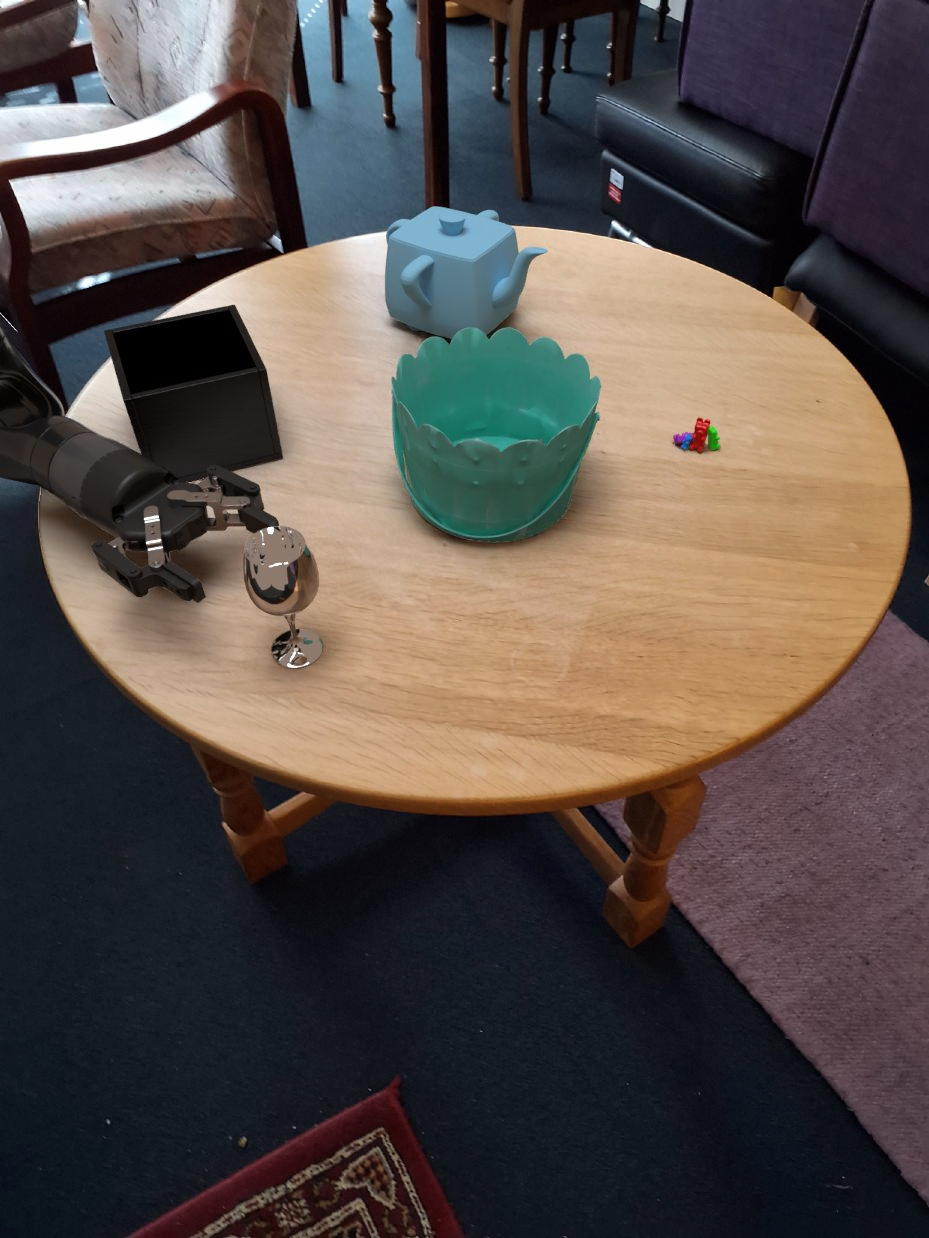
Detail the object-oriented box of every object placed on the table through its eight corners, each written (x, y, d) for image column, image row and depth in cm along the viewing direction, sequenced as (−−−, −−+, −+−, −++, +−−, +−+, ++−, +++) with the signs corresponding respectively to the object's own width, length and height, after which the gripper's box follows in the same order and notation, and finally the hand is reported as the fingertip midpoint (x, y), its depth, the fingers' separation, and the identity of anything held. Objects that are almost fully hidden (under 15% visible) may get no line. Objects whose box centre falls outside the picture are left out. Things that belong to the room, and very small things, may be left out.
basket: (612, 467, 93) (629, 357, 84) (538, 576, 83) (547, 464, 73) (452, 416, 99) (450, 309, 90) (363, 512, 89) (351, 401, 79)
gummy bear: (669, 447, 96) (674, 419, 93) (676, 433, 97) (682, 406, 95) (715, 459, 94) (722, 432, 92) (721, 445, 96) (728, 418, 93)
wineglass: (250, 662, 76) (221, 560, 67) (284, 616, 79) (261, 513, 70) (310, 683, 74) (289, 581, 65) (342, 634, 78) (326, 532, 69)
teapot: (392, 360, 107) (384, 251, 97) (383, 293, 118) (375, 188, 108) (541, 350, 109) (549, 241, 99) (519, 284, 120) (524, 180, 110)
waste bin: (153, 490, 91) (123, 400, 83) (132, 418, 100) (103, 330, 92) (283, 458, 95) (266, 369, 87) (252, 391, 103) (234, 304, 95)
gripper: (31, 496, 74) (161, 580, 67) (166, 415, 81) (295, 483, 75) (62, 561, 79) (184, 645, 73) (185, 480, 87) (307, 548, 80)
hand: (240, 563), depth 74 cm, fingers open, 8 cm apart
